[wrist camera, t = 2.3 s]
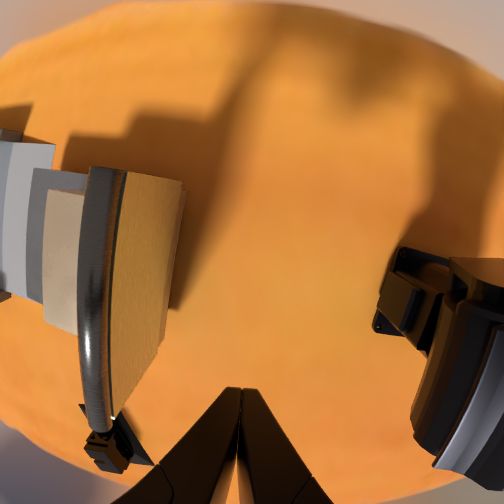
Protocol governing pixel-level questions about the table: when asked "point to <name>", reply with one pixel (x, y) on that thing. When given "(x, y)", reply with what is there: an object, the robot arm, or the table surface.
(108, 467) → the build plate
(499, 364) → the robot arm
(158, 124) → the table surface
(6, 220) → the dock
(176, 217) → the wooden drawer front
